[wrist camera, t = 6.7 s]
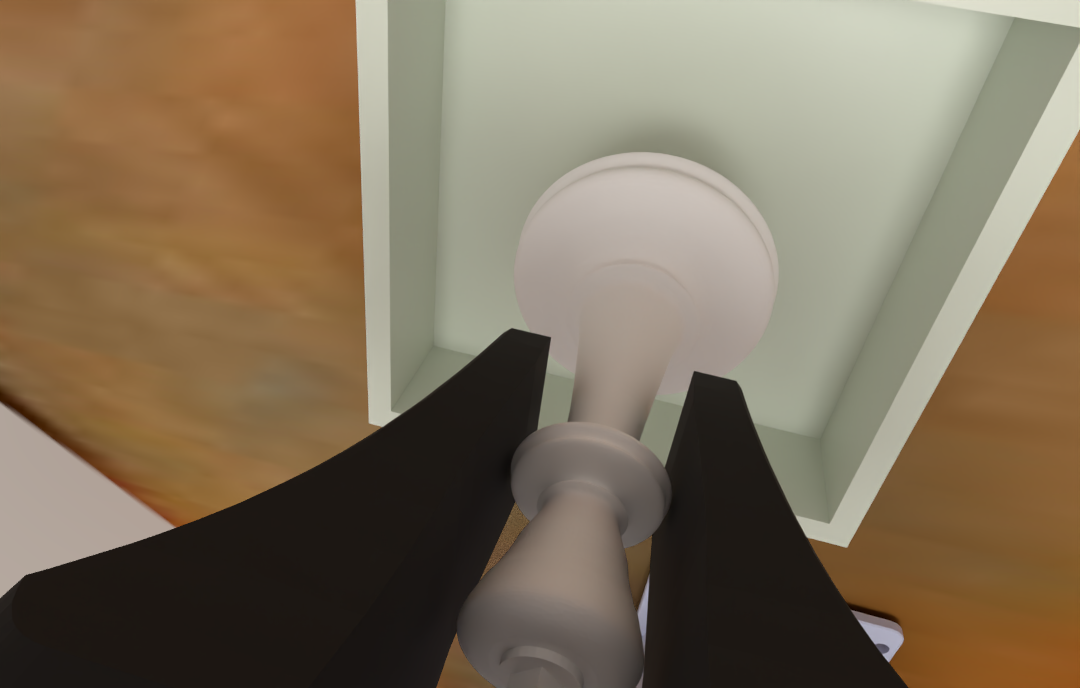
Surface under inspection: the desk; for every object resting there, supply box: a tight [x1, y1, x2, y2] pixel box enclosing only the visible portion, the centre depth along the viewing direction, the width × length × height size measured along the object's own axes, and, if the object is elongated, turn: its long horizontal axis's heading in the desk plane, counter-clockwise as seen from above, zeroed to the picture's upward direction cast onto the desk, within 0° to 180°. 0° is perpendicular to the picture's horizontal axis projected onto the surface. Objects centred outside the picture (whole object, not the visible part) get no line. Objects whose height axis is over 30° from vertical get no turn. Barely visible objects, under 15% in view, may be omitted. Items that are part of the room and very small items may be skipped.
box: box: [356, 0, 1080, 548], centre depth 16 cm, size 12×12×4 cm
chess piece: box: [457, 152, 779, 688], centre depth 10 cm, size 5×5×10 cm
